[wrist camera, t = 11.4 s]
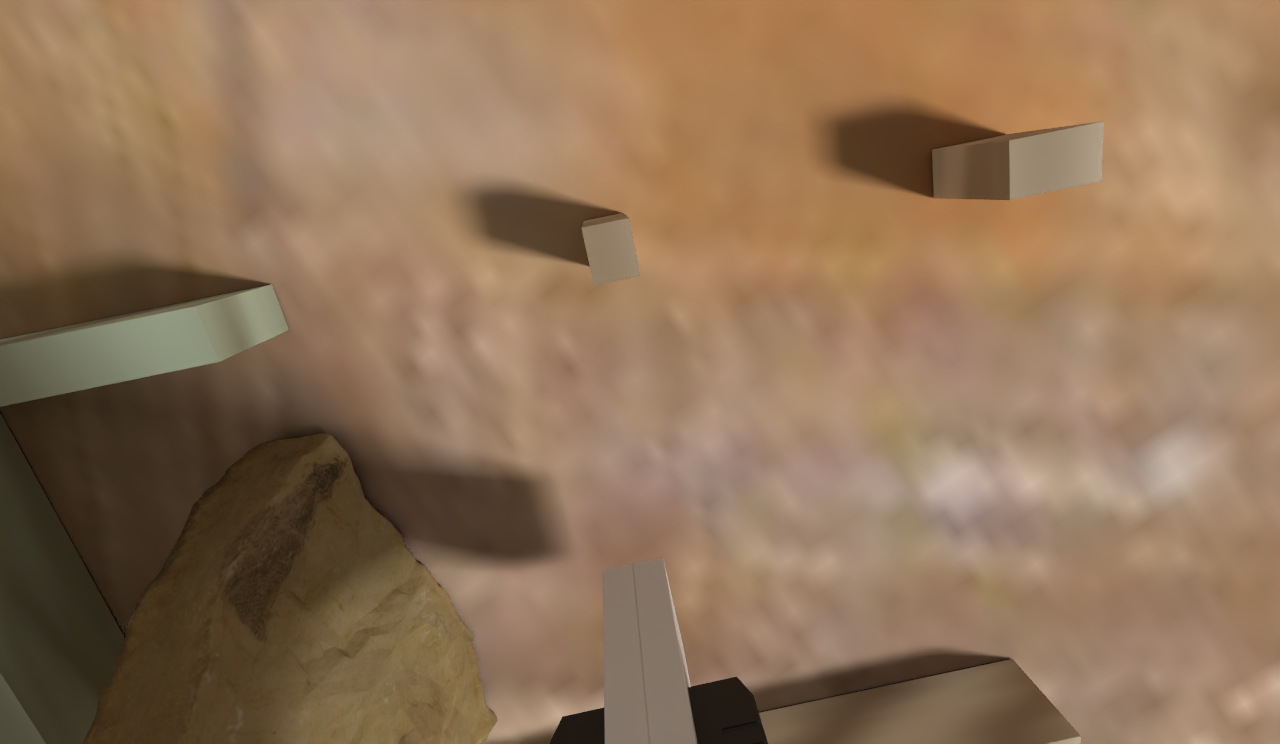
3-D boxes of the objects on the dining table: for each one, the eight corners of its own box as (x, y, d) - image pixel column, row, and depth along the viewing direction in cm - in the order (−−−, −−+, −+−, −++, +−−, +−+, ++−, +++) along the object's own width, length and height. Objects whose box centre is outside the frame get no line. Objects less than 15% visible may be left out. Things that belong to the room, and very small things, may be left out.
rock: (70, 410, 13) (23, 799, 15) (71, 623, 7) (-10, 1248, 9) (496, 422, 21) (439, 677, 22) (666, 532, 15) (575, 872, 16)
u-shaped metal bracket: (1008, 134, 15) (1103, 121, 12) (1012, 686, 21) (1079, 767, 18) (-85, 356, 15) (-245, 396, 12) (207, 858, 20) (143, 967, 17)
